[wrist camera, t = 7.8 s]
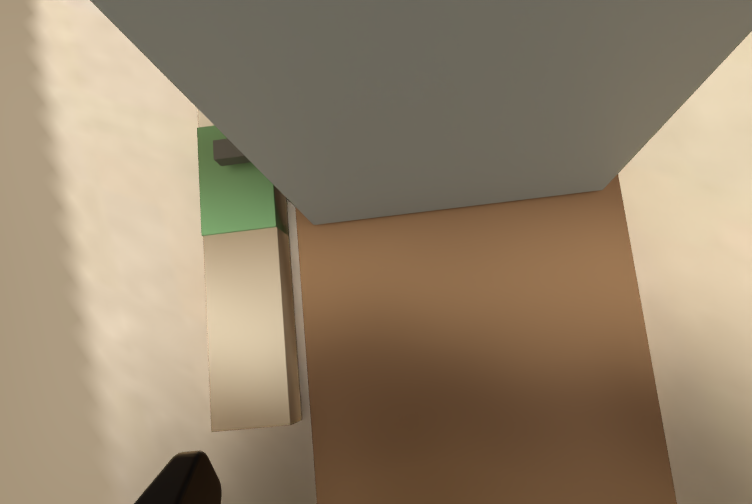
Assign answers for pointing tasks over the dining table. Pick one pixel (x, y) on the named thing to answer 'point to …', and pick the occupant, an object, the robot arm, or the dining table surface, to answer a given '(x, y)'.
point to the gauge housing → (438, 345)
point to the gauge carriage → (432, 90)
